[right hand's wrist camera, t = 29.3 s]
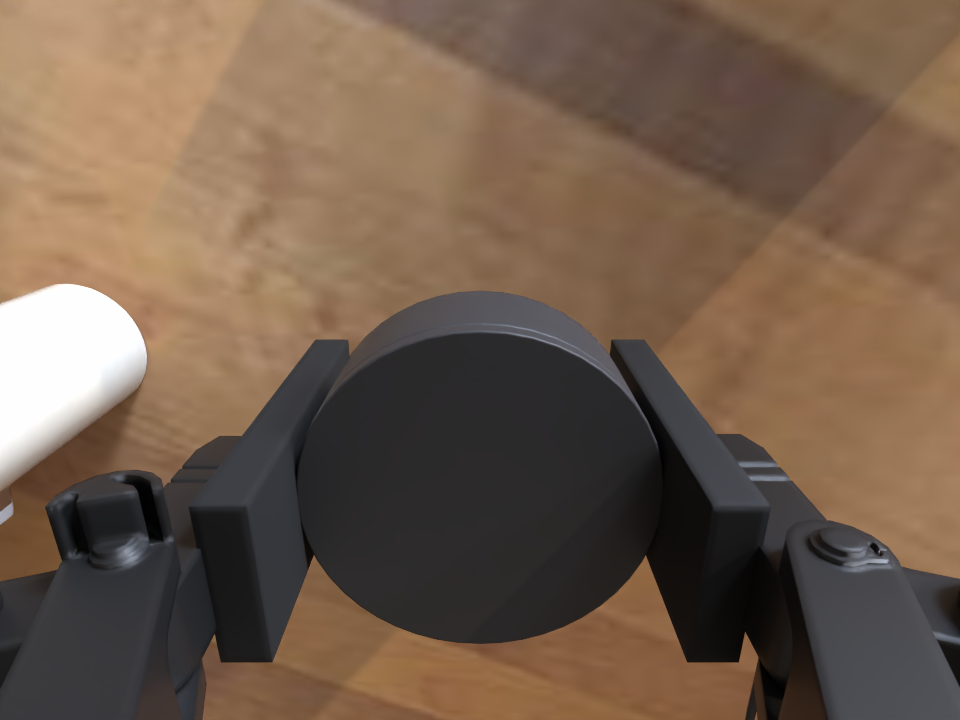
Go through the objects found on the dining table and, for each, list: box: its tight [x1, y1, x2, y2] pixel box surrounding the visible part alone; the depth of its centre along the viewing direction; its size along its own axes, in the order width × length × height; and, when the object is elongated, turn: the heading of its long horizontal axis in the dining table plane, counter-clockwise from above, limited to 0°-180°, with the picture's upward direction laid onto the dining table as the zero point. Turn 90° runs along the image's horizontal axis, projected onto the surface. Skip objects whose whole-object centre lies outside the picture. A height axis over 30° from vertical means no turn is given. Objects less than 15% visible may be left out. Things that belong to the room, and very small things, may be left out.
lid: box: [296, 291, 664, 644], centre depth 11 cm, size 6×6×2 cm
